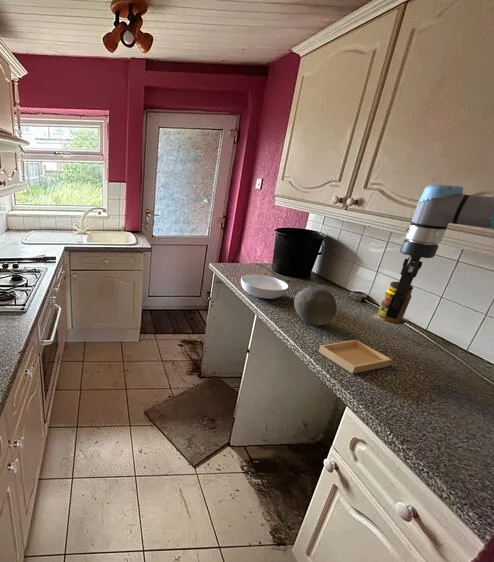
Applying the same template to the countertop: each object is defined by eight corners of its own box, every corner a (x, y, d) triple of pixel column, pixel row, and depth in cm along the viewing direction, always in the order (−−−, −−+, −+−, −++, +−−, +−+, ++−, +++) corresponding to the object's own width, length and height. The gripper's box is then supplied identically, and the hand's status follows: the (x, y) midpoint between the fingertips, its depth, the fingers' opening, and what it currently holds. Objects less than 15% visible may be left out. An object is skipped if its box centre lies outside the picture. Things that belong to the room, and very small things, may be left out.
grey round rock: (319, 316, 132) (329, 283, 126) (337, 333, 119) (349, 297, 113) (284, 313, 133) (293, 281, 127) (299, 330, 120) (309, 295, 114)
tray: (353, 345, 111) (355, 339, 110) (389, 365, 100) (392, 359, 99) (318, 351, 107) (320, 345, 106) (352, 373, 96) (354, 367, 95)
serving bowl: (294, 304, 142) (297, 290, 140) (248, 303, 142) (251, 289, 139) (272, 287, 162) (275, 274, 159) (232, 286, 161) (234, 273, 158)
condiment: (370, 317, 99) (384, 282, 94) (381, 311, 103) (394, 277, 99) (399, 327, 93) (414, 290, 89) (409, 320, 98) (424, 285, 93)
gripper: (406, 234, 97) (380, 301, 106) (401, 244, 84) (372, 319, 93) (439, 239, 92) (409, 308, 101) (439, 250, 80) (405, 328, 88)
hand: (392, 313), depth 97 cm, fingers closed on condiment, 6 cm apart
